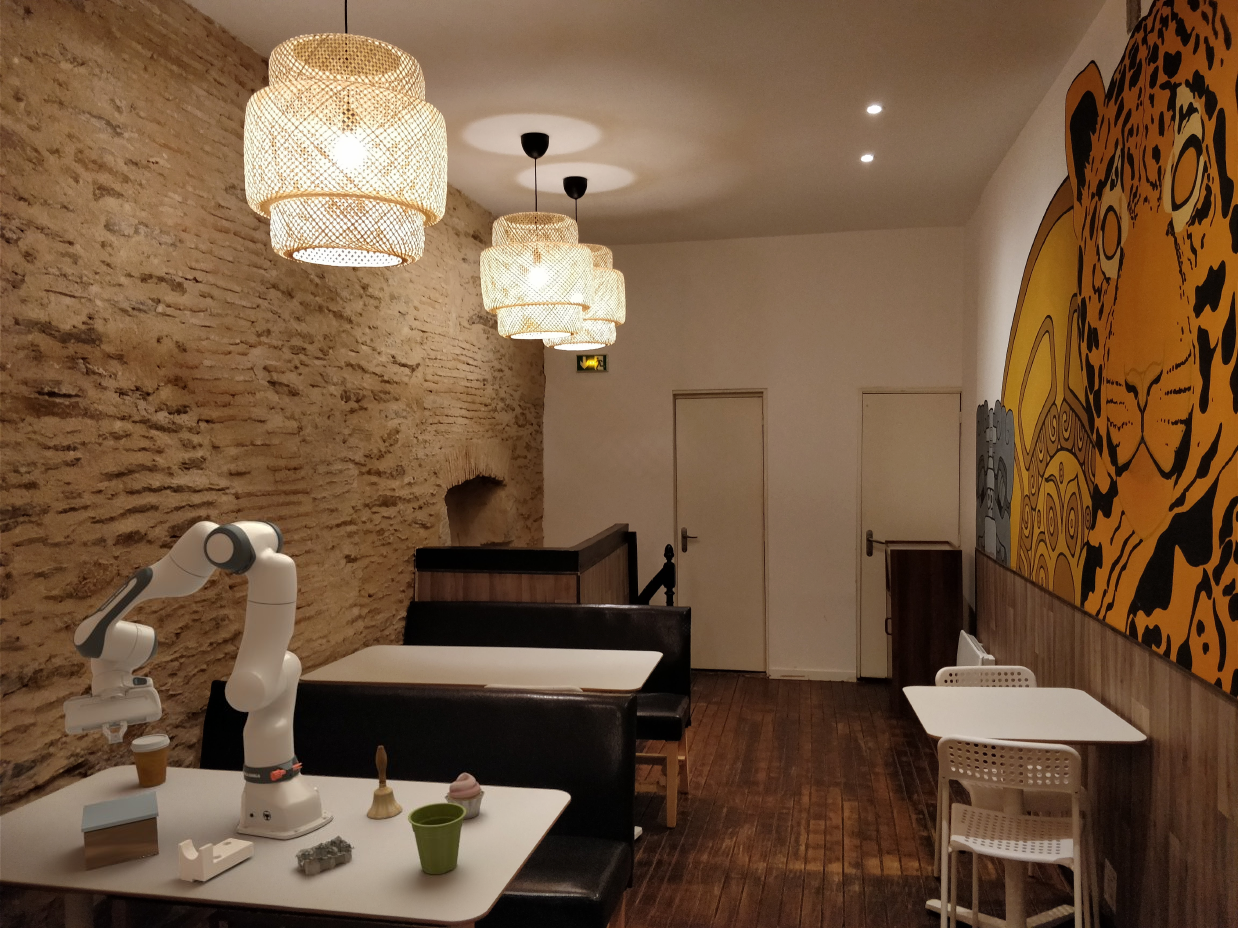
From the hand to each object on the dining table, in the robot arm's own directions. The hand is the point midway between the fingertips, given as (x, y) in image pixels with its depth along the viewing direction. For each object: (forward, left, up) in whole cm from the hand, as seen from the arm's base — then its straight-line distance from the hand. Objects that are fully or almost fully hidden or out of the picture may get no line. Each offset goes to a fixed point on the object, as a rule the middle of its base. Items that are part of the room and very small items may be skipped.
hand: (115, 741), depth 215 cm
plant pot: (-80, -23, -22) cm, 86 cm away
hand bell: (-47, -38, -22) cm, 65 cm away
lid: (-8, +4, -14) cm, 17 cm away
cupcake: (-66, -46, -22) cm, 84 cm away
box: (-8, +4, -22) cm, 24 cm away
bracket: (-38, 0, -22) cm, 44 cm away
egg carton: (-57, -13, -22) cm, 62 cm away
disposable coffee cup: (+27, -23, -22) cm, 41 cm away
